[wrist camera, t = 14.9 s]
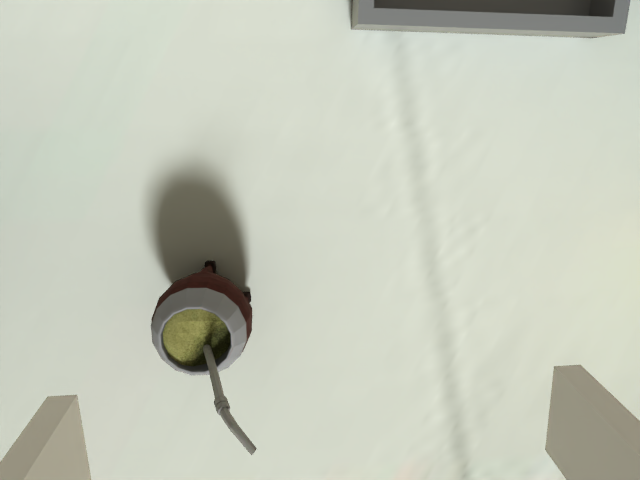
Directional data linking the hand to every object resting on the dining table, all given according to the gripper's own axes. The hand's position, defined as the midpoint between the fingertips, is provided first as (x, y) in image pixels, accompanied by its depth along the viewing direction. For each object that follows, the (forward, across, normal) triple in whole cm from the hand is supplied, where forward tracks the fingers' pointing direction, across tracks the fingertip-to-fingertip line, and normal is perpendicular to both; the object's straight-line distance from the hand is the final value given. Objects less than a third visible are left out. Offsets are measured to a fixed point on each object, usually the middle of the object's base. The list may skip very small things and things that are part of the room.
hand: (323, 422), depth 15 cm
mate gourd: (+30, -6, -8) cm, 31 cm away
